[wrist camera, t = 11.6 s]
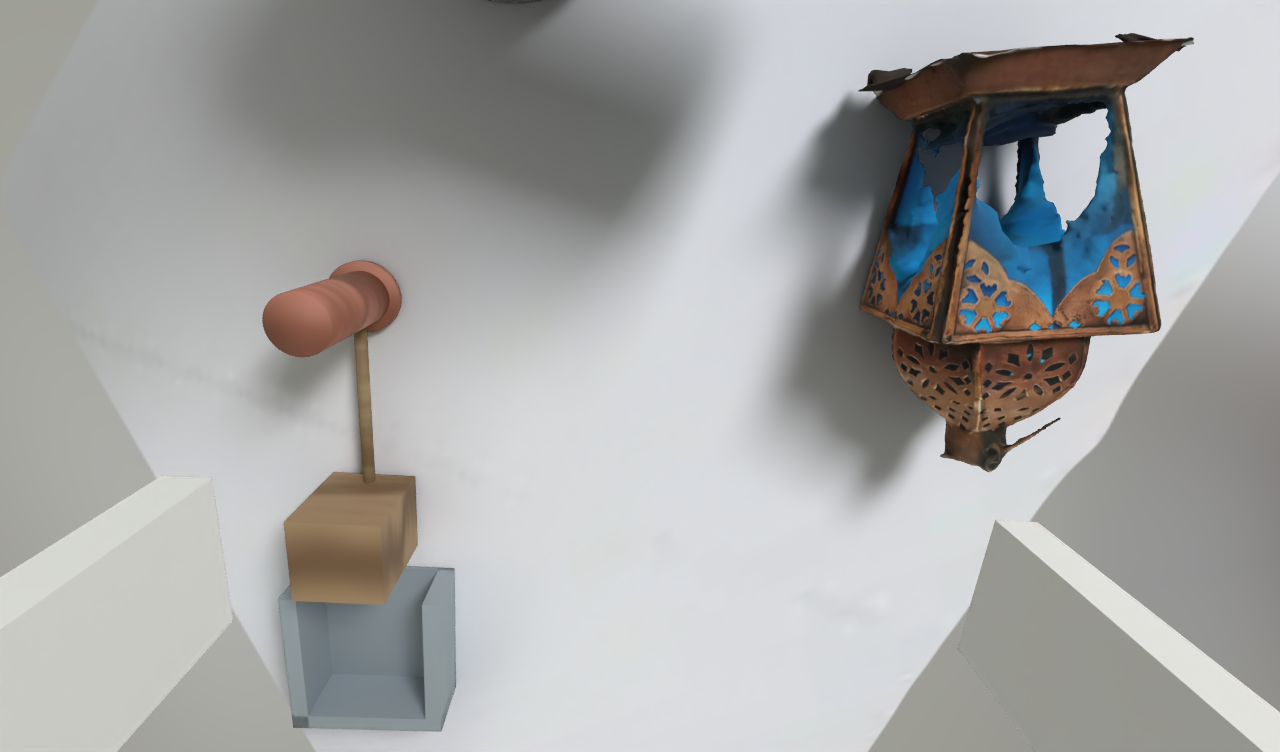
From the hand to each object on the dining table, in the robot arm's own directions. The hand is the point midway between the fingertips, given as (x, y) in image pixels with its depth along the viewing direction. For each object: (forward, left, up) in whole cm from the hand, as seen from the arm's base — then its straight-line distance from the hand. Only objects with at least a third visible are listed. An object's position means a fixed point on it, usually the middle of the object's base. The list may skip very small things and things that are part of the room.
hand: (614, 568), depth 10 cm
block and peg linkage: (+11, -17, -32) cm, 38 cm away
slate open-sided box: (+30, -17, -33) cm, 48 cm away
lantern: (-4, +22, -33) cm, 40 cm away
